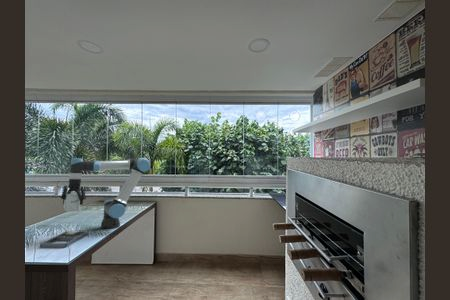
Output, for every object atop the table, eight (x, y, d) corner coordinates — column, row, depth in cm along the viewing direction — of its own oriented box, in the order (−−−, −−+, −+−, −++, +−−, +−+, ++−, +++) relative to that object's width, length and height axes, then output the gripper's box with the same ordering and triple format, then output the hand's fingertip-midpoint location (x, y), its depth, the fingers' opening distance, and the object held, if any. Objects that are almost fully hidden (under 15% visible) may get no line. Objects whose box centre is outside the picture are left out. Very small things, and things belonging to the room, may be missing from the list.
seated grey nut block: (78, 237, 174) (78, 231, 174) (72, 239, 168) (72, 233, 168) (70, 236, 174) (70, 231, 174) (64, 239, 168) (64, 233, 168)
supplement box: (68, 212, 169) (70, 194, 170) (64, 211, 173) (66, 193, 174) (79, 211, 175) (81, 194, 176) (75, 209, 179) (77, 193, 180)
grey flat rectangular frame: (66, 234, 178) (66, 231, 178) (87, 234, 178) (87, 231, 178) (39, 247, 151) (40, 243, 151) (65, 247, 151) (65, 243, 152)
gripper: (93, 179, 179) (90, 208, 178) (63, 177, 179) (60, 207, 178) (87, 179, 172) (84, 210, 170) (56, 178, 172) (53, 208, 170)
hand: (72, 208), depth 174 cm, fingers closed on supplement box, 10 cm apart
